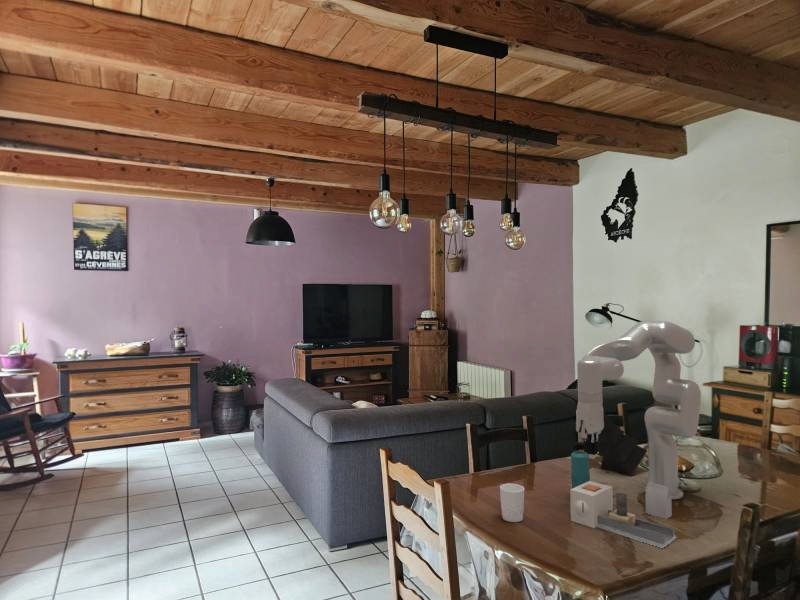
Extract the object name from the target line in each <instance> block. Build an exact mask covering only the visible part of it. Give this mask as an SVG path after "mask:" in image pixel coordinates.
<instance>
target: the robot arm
mask: <svg viewBox="0 0 800 600" xmlns="http://www.w3.org/2000/svg"><path fill="white" fill-rule="evenodd" d="M695 345H696V340H695V336H694V335H693V333H692V332H691V331H690V330H688V329H686V328H684V327H682V326H680V325H677V324H676V323H673V322H670V321H667V320H643V321H642V320H641V321H638V322H637V323H636V324H634V325H633V326H632V327H631V328H629V329H628V330H627V331H626V332H625V333H624V334H623V335H621V336H620V337H619V338H617V339H613V340H610V341H608V342H605V343H602V344H600V345H597V346H595V347H593V348H592V349H591V350H590V351H587V353H586V354H585V355H584V356H583V357H582V358H581V359H580V360H578V361H577V364H576V367H577V368H576V369H577V370H576V371H577V373H576V374H577V401H578V402H577V405H576V413H575V414H576V417H575V418H576V419H575V430H576V433H580V438H582V439H584V442H585V447H586V449H585V452H586V453H587V454H588V455H593V456H596V455H598V453H599V451H598V442H599V441H598V435H599V434H600V433H601V430H603V428H604V414H603V412H604V407H603V402H604V400H603V397H604V396H603V381H617V380H619V379H620V378H621V377H622V376H623V374H624V371H625V368H624V364H623V363H622V362H626V361H631V360H634V359H636V358H639V356H640V355H641V354H642V353H643V352H644V351H646V350H647V349H648V350H649V352H650V353H651V356H652V358H653V361H654V364H655V365H654V375H653V382H652V383H653V385H652V397H653V399H654V401H657V402H659V403H662V404H668V405H674V406H679V408H680V409H677V408H673V407H666V406H659V405H657V406H651V407H649V408H648V409H646V411H645V412H644V413H645V414H644V425H645V428H646V435H647V446H648V451H647V453H648V482H650V483H654V484H658V485H662V486H666V487H669V491H670V495H671V500H680V499H682V498H683V497H684V492H683V491H682V490H681V489H680V488H679V484H680V483H681V479H680V478H679V468H678V464H679V463H678V445H677V441H676V439H675V438H674V436H675V437H677V438H678V437H679V438H684V439H691V438H693V437H694V436H695V435H696V434H697V432H698V428H699V423H700V422H699V420H700V412H701V402H702V393H701V387H700V386H699V384H697V383H696V382H695V381H693V380H690V379H682V378H681V373H682V372H681V369H682V368H681V367H682V366H681V362H680V360H679V358H678V357H677V356H676V354H683V355H686V354H689V353H691V352H693V350H694V349H695ZM646 490H647V485H646V486H645V487H644V492H645V493H646Z"/></svg>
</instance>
